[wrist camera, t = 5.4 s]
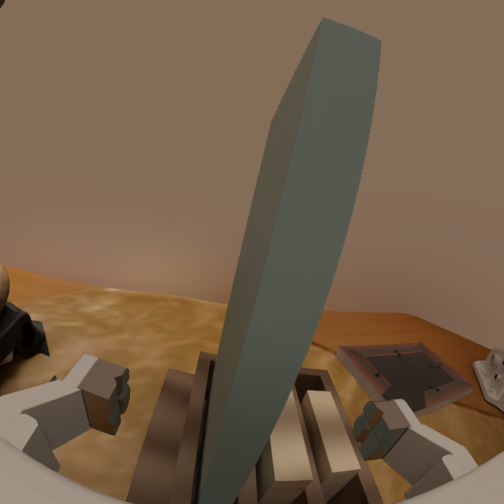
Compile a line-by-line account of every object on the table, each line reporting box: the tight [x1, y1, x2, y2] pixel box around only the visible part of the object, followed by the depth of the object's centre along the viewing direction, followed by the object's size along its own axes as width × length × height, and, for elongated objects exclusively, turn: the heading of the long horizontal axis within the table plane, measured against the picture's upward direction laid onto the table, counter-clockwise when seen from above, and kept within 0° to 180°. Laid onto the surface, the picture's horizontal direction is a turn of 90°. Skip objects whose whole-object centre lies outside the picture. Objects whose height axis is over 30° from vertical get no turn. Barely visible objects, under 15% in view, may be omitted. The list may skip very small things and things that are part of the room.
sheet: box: [194, 18, 381, 504], centre depth 13 cm, size 12×2×24 cm, turn 2°
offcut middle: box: [255, 390, 313, 504], centre depth 15 cm, size 10×2×7 cm, turn 2°
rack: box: [126, 351, 384, 504], centre depth 16 cm, size 22×18×6 cm
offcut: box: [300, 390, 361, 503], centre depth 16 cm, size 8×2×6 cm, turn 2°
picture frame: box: [336, 342, 475, 418], centre depth 34 cm, size 16×2×22 cm
